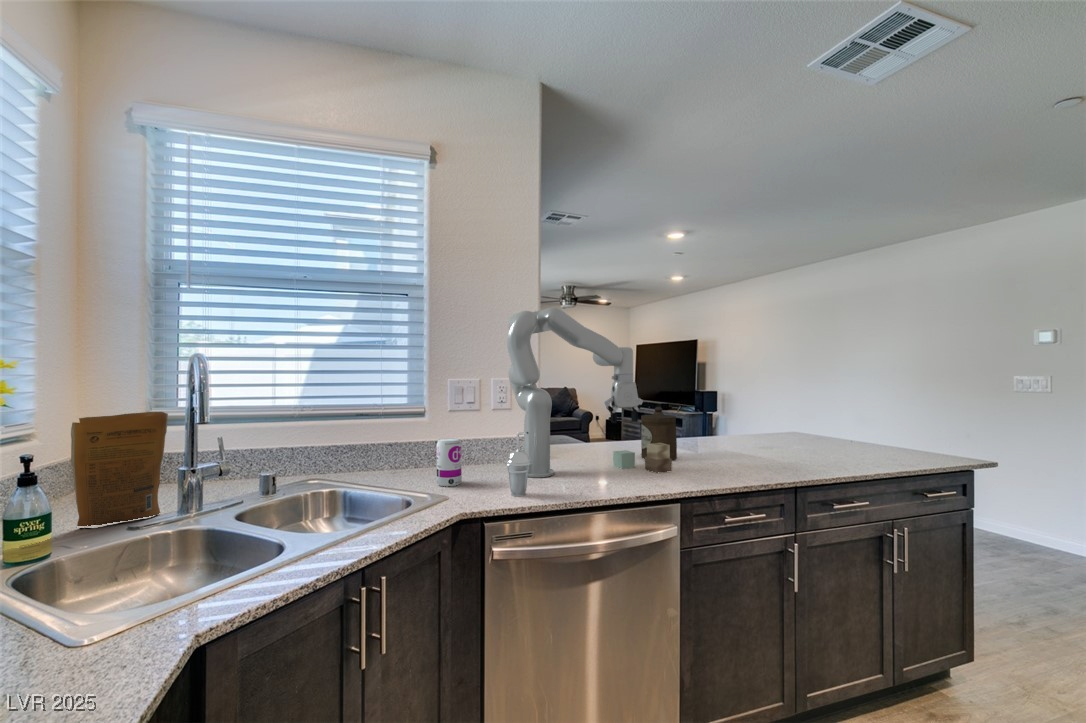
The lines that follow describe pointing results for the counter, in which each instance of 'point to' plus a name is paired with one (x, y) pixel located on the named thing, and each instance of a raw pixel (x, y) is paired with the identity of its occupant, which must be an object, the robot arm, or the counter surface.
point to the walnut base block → (658, 464)
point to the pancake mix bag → (117, 466)
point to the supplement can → (449, 462)
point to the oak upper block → (658, 451)
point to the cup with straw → (518, 470)
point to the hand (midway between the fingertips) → (624, 422)
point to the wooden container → (659, 431)
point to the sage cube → (624, 459)
